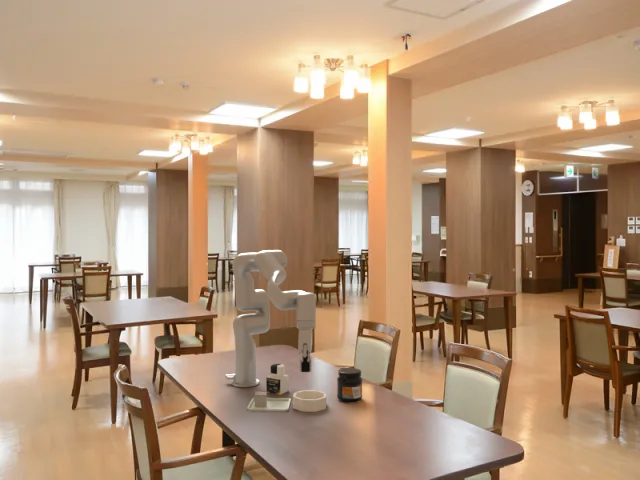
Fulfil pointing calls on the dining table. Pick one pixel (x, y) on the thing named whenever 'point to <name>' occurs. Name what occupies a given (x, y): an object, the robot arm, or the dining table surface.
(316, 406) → the bowl
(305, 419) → the dining table surface
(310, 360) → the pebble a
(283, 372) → the medicine bottle
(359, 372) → the supplement container
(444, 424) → the dining table surface
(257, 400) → the beige small block
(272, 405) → the tray
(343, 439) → the dining table surface
